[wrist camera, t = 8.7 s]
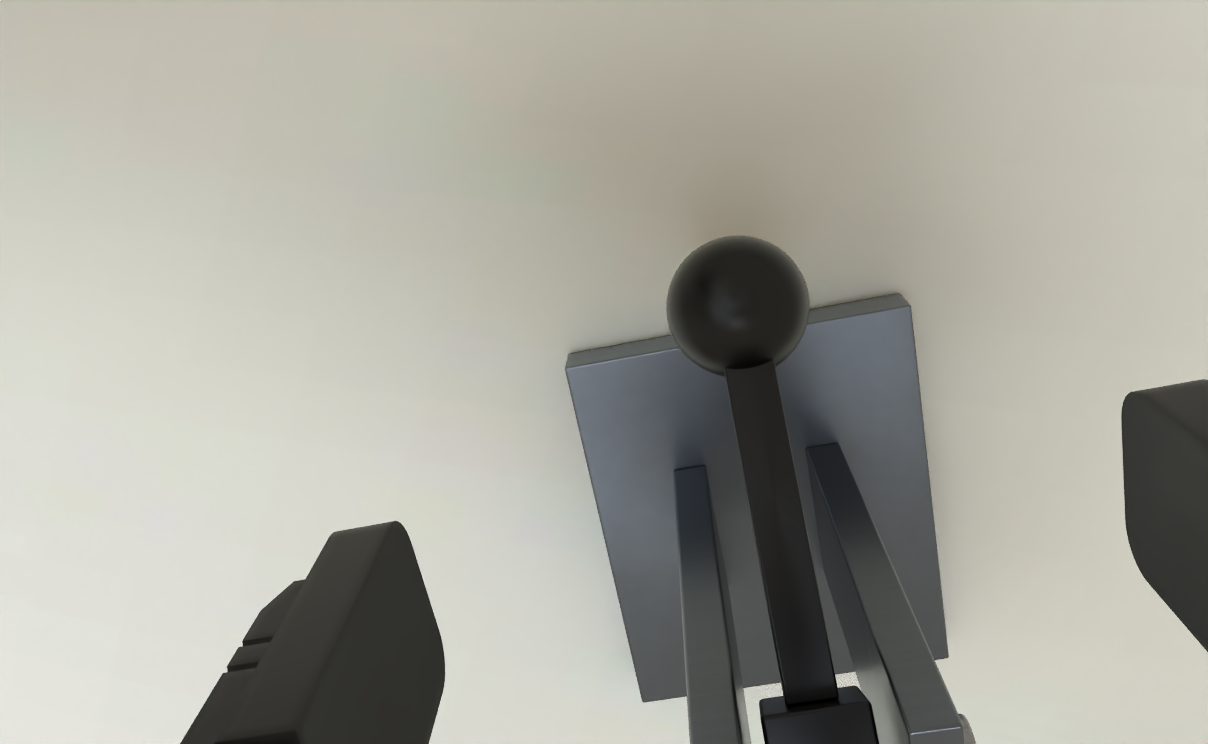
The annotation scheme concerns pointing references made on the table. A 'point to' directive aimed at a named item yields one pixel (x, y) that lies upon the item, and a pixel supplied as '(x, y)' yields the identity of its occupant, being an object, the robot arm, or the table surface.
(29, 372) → the table surface
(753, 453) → the press lever
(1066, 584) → the table surface
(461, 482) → the table surface
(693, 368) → the lever bracket
